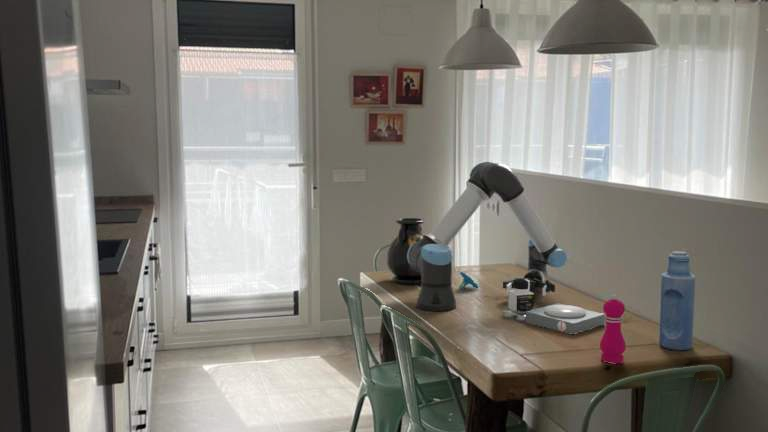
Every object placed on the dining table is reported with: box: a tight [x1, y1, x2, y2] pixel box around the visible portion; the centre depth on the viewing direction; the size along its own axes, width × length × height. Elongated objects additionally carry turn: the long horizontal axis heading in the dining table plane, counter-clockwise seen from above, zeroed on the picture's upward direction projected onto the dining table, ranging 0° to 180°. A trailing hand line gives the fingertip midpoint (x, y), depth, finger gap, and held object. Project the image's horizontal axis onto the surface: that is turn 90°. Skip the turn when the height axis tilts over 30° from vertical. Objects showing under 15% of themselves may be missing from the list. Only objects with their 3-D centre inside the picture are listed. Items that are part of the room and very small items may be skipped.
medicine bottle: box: [508, 277, 535, 314], centre depth 265 cm, size 7×7×12 cm
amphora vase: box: [385, 217, 426, 286], centre depth 315 cm, size 22×22×28 cm
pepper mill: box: [599, 294, 627, 364], centre depth 206 cm, size 7×7×20 cm
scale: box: [525, 302, 606, 334], centre depth 246 cm, size 18×20×5 cm
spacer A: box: [502, 309, 518, 320], centre depth 257 cm, size 5×5×2 cm
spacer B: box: [516, 313, 526, 323], centre depth 252 cm, size 5×5×2 cm
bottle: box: [658, 250, 696, 352], centre depth 219 cm, size 10×10×30 cm
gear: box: [459, 271, 479, 290], centre depth 302 cm, size 11×6×10 cm
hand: (525, 290), depth 270 cm, fingers open, 13 cm apart
